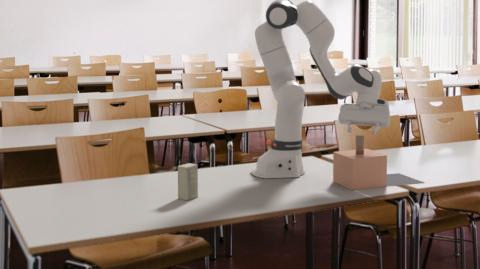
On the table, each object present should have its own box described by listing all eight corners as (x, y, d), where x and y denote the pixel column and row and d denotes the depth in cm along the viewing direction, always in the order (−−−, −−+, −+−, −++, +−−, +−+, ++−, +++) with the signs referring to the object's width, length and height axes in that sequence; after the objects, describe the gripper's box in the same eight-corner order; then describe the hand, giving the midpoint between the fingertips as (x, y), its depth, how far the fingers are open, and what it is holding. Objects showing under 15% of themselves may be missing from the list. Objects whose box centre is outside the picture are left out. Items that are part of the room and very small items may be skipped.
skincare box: (189, 195, 248) (189, 162, 246) (198, 197, 246) (198, 164, 244) (177, 198, 244) (177, 165, 242) (186, 200, 241) (186, 167, 239)
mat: (385, 187, 261) (386, 186, 261) (361, 177, 278) (361, 176, 278) (425, 183, 268) (425, 182, 268) (398, 174, 284) (399, 173, 284)
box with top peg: (352, 190, 257) (352, 140, 253) (333, 181, 271) (333, 134, 267) (386, 186, 262) (387, 137, 259) (365, 177, 276) (366, 131, 272)
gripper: (340, 98, 274) (334, 125, 266) (391, 101, 267) (387, 129, 260) (342, 108, 279) (336, 135, 271) (392, 111, 272) (388, 139, 264)
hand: (361, 132), depth 265 cm, fingers open, 8 cm apart
